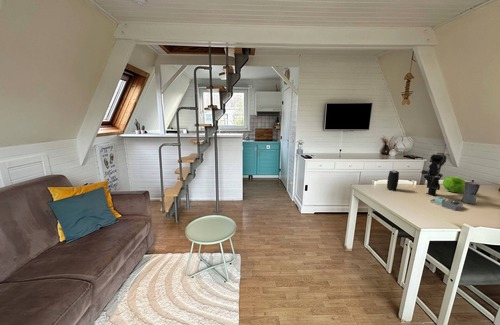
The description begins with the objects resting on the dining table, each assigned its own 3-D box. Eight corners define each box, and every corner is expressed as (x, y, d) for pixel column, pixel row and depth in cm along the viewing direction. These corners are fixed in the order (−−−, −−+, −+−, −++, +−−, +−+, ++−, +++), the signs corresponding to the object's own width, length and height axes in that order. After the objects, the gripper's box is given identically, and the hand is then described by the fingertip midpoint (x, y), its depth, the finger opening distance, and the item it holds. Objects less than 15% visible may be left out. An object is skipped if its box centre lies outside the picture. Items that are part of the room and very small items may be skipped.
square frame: (436, 200, 179) (437, 194, 178) (462, 207, 164) (463, 201, 163) (428, 202, 174) (430, 196, 173) (455, 210, 159) (456, 203, 158)
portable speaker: (390, 187, 213) (393, 169, 209) (399, 190, 204) (402, 172, 200) (384, 188, 211) (386, 170, 206) (392, 191, 202) (395, 172, 198)
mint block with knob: (437, 202, 176) (438, 195, 174) (444, 204, 171) (445, 197, 170) (434, 203, 174) (435, 196, 172) (441, 205, 169) (442, 198, 168)
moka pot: (470, 199, 180) (475, 178, 176) (482, 206, 166) (488, 183, 162) (456, 198, 183) (461, 177, 179) (467, 205, 169) (473, 182, 165)
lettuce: (468, 194, 198) (475, 180, 194) (455, 195, 192) (462, 180, 188) (448, 187, 214) (454, 174, 209) (436, 187, 207) (441, 174, 203)
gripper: (429, 165, 191) (426, 181, 195) (418, 167, 184) (415, 183, 187) (444, 168, 181) (441, 184, 185) (433, 170, 174) (430, 187, 177)
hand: (431, 185), depth 184 cm, fingers open, 9 cm apart
